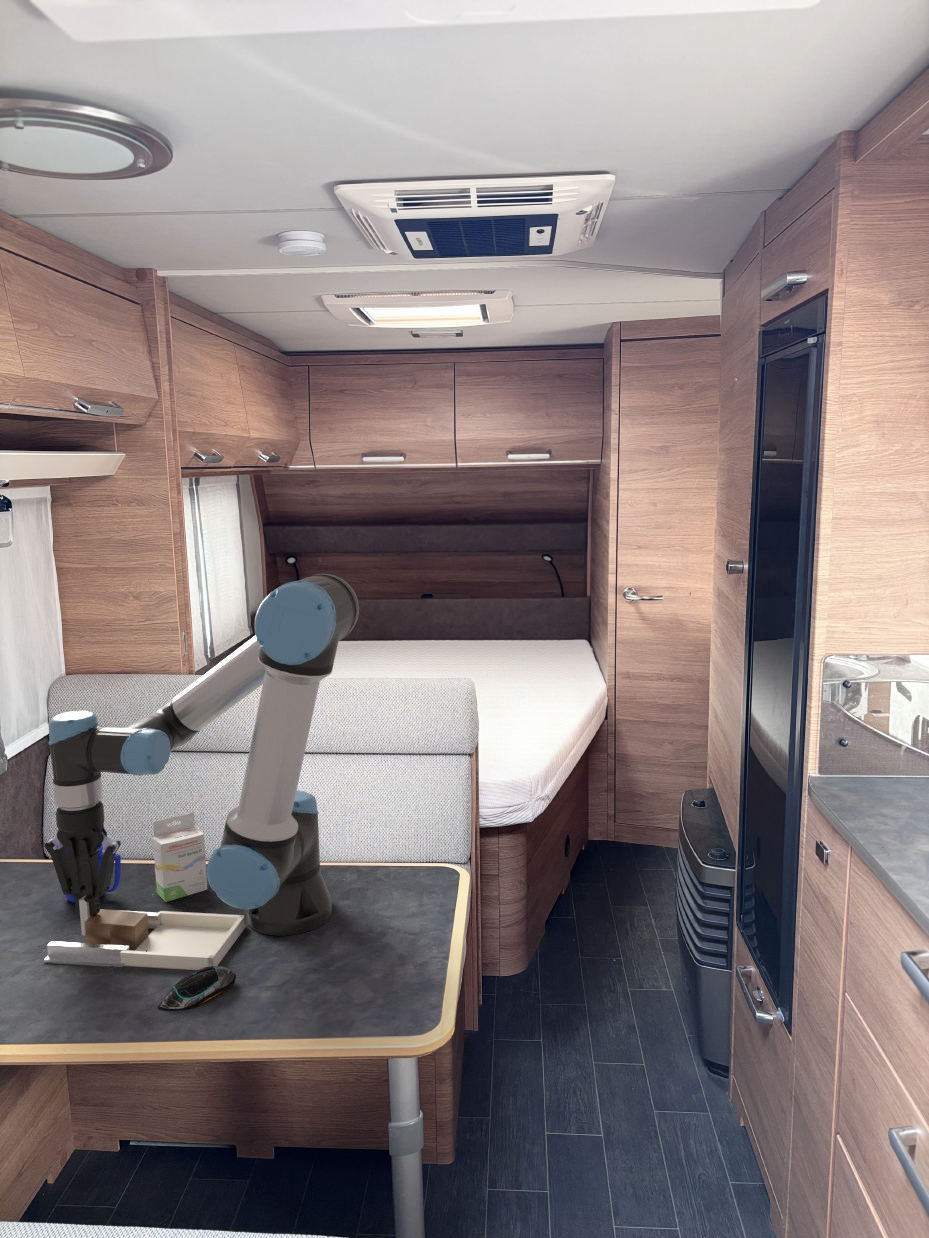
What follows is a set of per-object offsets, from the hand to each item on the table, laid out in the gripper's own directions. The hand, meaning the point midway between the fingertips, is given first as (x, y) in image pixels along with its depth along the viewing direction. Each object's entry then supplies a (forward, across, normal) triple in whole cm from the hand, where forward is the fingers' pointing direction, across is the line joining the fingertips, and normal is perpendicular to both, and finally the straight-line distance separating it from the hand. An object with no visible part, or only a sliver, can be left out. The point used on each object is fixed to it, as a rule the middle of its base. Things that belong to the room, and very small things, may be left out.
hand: (89, 931), depth 154 cm
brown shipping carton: (+2, -3, 0) cm, 3 cm away
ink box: (+2, -8, -19) cm, 21 cm away
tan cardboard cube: (+2, -7, 0) cm, 7 cm away
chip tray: (+2, -18, 0) cm, 18 cm away
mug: (+2, +8, -15) cm, 17 cm away
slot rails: (+2, -3, 0) cm, 4 cm away
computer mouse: (+2, -26, +14) cm, 29 cm away
